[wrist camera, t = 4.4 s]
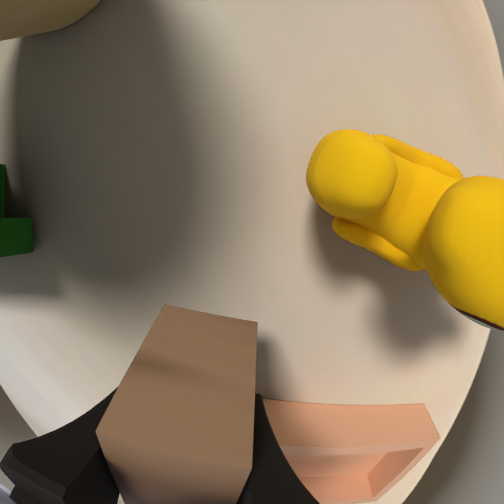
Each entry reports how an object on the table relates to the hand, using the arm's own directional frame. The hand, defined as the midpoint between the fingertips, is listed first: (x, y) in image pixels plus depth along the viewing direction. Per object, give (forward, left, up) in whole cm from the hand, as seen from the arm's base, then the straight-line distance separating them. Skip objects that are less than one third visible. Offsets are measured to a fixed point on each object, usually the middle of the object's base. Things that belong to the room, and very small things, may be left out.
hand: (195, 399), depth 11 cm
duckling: (+9, -8, -6) cm, 14 cm away
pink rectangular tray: (-11, -10, -6) cm, 16 cm away
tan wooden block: (0, 0, -2) cm, 2 cm away
